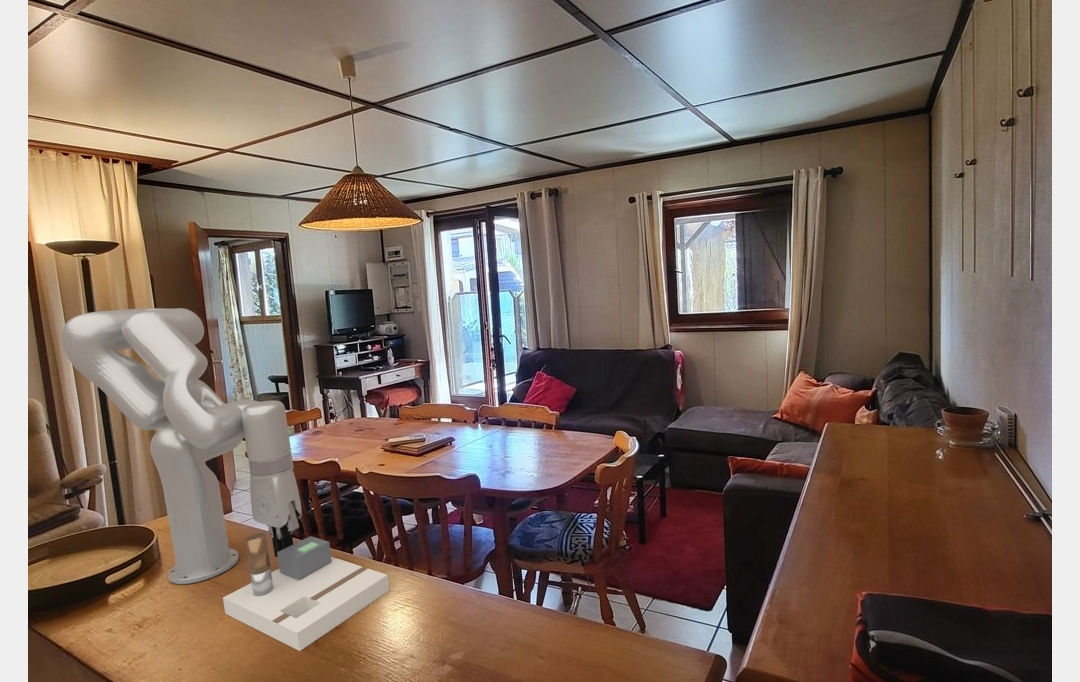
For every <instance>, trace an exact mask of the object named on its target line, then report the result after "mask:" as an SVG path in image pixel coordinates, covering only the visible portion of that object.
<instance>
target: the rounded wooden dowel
mask: <svg viewBox="0 0 1080 682" xmlns="http://www.w3.org/2000/svg"><path fill="white" fill-rule="evenodd" d="M267 541H268V540H267V535H266V533H255V534H252V535H250V536H248V537H247V538H245V547H246V554H247V560H248V566H249V574H250V581H251V582H250V583H252V589H253V595H254V596H263V595H266V594H268V593H270V592H271V591H272V590H273V582H272V575H271V572H272V570H271V562H270V553H269V548H268V542H267Z"/></svg>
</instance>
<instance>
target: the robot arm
mask: <svg viewBox="0 0 1080 682" xmlns="http://www.w3.org/2000/svg"><path fill="white" fill-rule="evenodd" d="M204 335H205V327H204V324H203V322H202V319H201V318H200V317H199V316H198V315H197V314H196V313H195V312H193V311H192V310H190V309H187V308H184V307H183V308H182V307H180V308H179V307H177V308H162V307H161V308H160V307H159V308H154V307H153V308H150V307H149V308H148V307H147V308H146V307H145V308H144V307H143V308H132V309H131V308H129V309H114V310H112V309H111V310H100V311H92V312H87V313H82V314H79V315H76V316H74V317H72V318H71V319H69V320H67V321H66V322H65V323H64V326H63V327H62V329H61V336H60V337H61V344H62V349H63V351H64V353H65V357H67V359H68V361H69V362H70V363H71V365H72V366H73V367H74V368H75V369H76V371H78V372H79V373H80V374H81V375H82V376H83V377H85V378H86V379H88V380H89V381H90V382H92V383H93V384H94V386H97V387H98V388H99V389H100V390H101V391H102V392H103V393H105V395H106V396H107V398H109V400H110V401H111V402H112V403H113V404H114V405H115V406H116V407H117V408H118V409H119V411H121V413H122V414H123V415H124V416H125V417H126V418H127V419H128V420H129V421H130V422H131V423H132V424H133V425H134V426H135V427H136V428H138V429H140V430H143V431H153V430H157V432H156V433H154V435H153V436H152V438H151V440H150V445H149V451H150V455H151V457H152V460H153V463H154V465H155V467H156V470H157V472H158V476H159V478H160V481H161V486H162V491H163V495H164V497H163V498H164V501H165V507H166V512H167V520H168V525H169V530H170V531H169V532H170V537H171V543H172V548H173V549H172V550H173V554H174V556H173V557H174V562H175V564H174V565H173V566H172V567H171V568H170V569H169V571H168V573H167V577H168V581H169V582H171V583H172V584H177V585H187V584H188V585H189V584H194V583H199V582H202V581H205V580H208V579H209V580H210V579H211V578H214V577H216V576H219V575H221V574H224V572H226V571H229V570H230V569H231V568H232V567H234V566H235V565H236V564H237V563H238V561H239V557H240V556H239V552H238V551H237V550H236V549H234V548H230V547H229V541H228V540H229V539H228V534H227V528H226V521H225V514H224V508H223V502H222V495H221V488H220V483H219V480H218V478H217V476H216V475H215V473H214V471H212V470H211V469H210V468H209V467H208V466H207V464H206V462H207V461H210V460H212V459H213V458H217V457H219V456H222V455H225V454H226V453H229V452H231V451H233V450H236V448H238V446H239V445H240V444H241V443H242V441H243V439H244V440H245V441H244V442H245V447H246V452H247V453H246V455H247V460H248V466H249V467H248V468H249V473H250V475H249V476H250V477H249V478H250V479H249V490H250V491H249V493H250V505H251V513H252V519H253V520H254V521H255V522H257V523H259V524H262V525H266V527H268V531H269V535H270V537H271V540H272V541H271V542H272V548H273V554H274V557H275V558H278V555H277V552H279V551H281V550H283V549H285V548H287V547H289V546H291V545H293V544H294V539H293V533H294V531H296V530H297V529H299V528H300V525H299V520H300V519H301V518H302V515H303V513H302V501H301V496H300V493H299V487H298V484H297V479H296V477H295V473H294V470H293V469H294V462H293V455H292V449H291V441H290V436H289V435H290V434H289V430H288V429H289V428H288V421H287V414H286V412H287V411H286V408H285V405H284V403H283V402H281V401H279V400H264V401H263V400H262V401H257V400H255V399H253V400H252V399H239V400H235V401H231V402H227V403H225V402H224V401H223V400H222V399H221V398H220V397H219V396H218V395H217V393H215V391H213V389H212V388H211V387H210V386H209V385H208V384H207V383H205V382H204V381H203V380H201V379H200V377H202V376H203V374H204V373H205V371H206V370H207V367H208V365H209V363H208V359H207V357H206V356H205V355H204V353H202V351H200V350H199V348H198V347H196V345H197V344H198V343H200V342H201V341H202V339H203V338H204ZM130 349H132V350H133V351H135V353H136V354H137V355H138V356H139V357H140V359H142V360H143V361H144V363H145V364H146V365H147V366H148V367H149V368H150V369H151V370H152V371H153V372H154V373H155V374H156V375H157V376H158V377H156V376H155V375H153V373H151V371H150V370H149V369H148V368H147V367H146V366H145V365H144V364H142V363H141V362H139V361H138V360H136V359H134V358H133V357H130V356H129V355H125V354H122V353H120V352H118V351H123V350H130ZM158 429H159V430H158Z"/></svg>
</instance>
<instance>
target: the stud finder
mask: <svg viewBox="0 0 1080 682" xmlns="http://www.w3.org/2000/svg"><path fill="white" fill-rule="evenodd" d="M331 553H332V552H331V545H330V541H327V540H324V539H321V538H318V537H314V536H311V535H310V536H308V537H306V538H303V539H302V540H300V541H298V542H296V543H293V545H291V546H289V547H287V548H285V549H283V550H281V551H279V552H277V555H278V557H277V561H278V569H279V570H280V573H282V574H285V575H288V576H290V577H293V578H296V579H298V580H299V579H301V578H303V577H305V576H307V575H308V574H310V573H312V572H314V571H316V570H317V569H319V568H321V567H323V566H325V565H326V564H328V563H330V562H332V559H331V557H332V554H331Z"/></svg>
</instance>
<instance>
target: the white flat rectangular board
mask: <svg viewBox="0 0 1080 682" xmlns="http://www.w3.org/2000/svg"><path fill="white" fill-rule="evenodd" d="M331 559H332V562H330V563H328V564H326V565H325V566H323V567H321V568H319V569H317V570H316V571H314V572H312V573H310V574H308V575H307V576H305V577H303V578H301V579H299V580H298V579H296V578H293V577H290V576H288V575H285V574H282V573H280V570H279V568H277V569H275V570H273V571H271V575H272V582H273V590H272V591H271V592H270V593H268V594H266V595H263V596H254V595H253V589H252V582H250V583H249V584H246V585H245V586H242V587H241V588H239V589H237V590H235V591H233V592H231V593H229V594H226V595H225V596H223V597H222V601H223V606H224V607H223V608H224V614H225V615H227V616H228V617H229V616H230V617H232V619H235V620H237V621H239V622H241V623H243V624H245V625H246V626H249V627H251V628H252V629H254V630H257V631H259V632H260V633H263V634H265V635H267V636H269V637H271V638H273V639H275V640H277V641H279V642H281V643H283V644H285V645H287V646H289V647H291V648H293V649H295V650H297V651H299V652H301V651H302V650H303V649H305V648H306V647H308V646H309V645H311V644H312V643H314V642H315V641H316V640H318V639H319V638H321V637H323V636H324V635H326V634H327V633H330V631H332V630H333V629H334V628H337V626H339V625H341V624H342V623H343V622H345V621H346V620H348V619H349V618H351V617H352V616H354V615H355V614H357V613H358V612H360V611H361V610H363V609H364V608H366V607H367V606H369V605H370V604H372V603H373V602H375V601H376V600H377V599H379V598H380V597H382V596H383V595H384V594H386V593H388V592H390V586H389V585H390V583H389V575H388V574H386V573H384V572H381V571H377V570H374V569H371V568H368V567H367V566H361V565H360V564H359V565H358V564H356V563H353V562H349V561H346V560H343V559H340V558H337V557H333V556H331Z"/></svg>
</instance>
